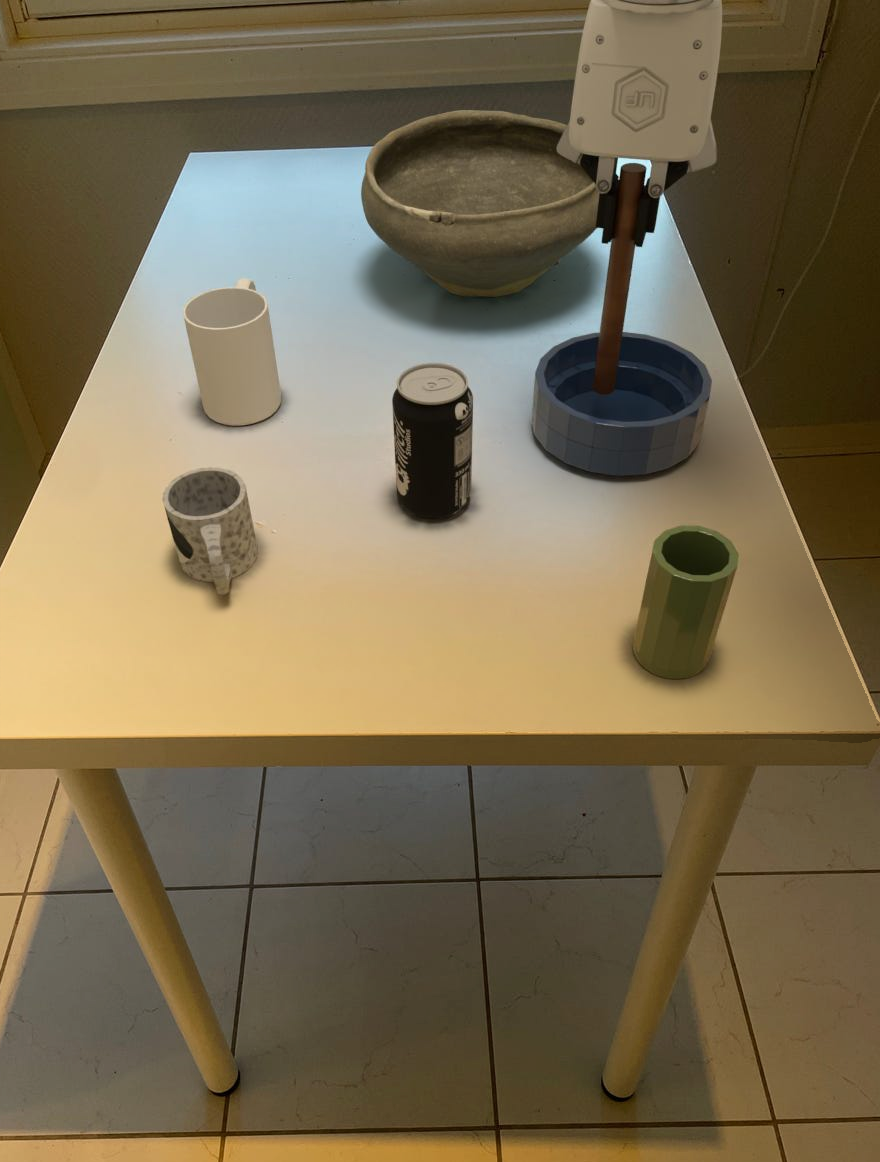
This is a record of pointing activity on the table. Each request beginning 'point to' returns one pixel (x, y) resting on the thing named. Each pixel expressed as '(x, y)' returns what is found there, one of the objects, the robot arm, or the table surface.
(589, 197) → the bowl
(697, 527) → the utensil crock
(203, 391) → the mug
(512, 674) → the table surface
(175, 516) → the mug
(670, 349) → the mixing bowl
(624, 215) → the cooking stick
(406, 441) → the beverage can
